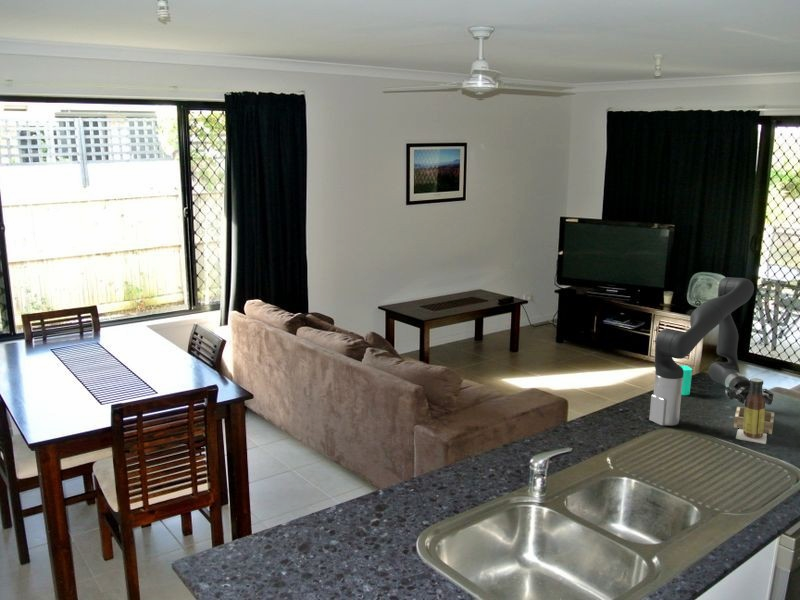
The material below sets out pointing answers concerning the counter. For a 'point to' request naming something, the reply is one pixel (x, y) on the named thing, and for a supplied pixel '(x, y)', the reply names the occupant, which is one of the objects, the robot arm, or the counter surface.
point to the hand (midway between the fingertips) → (756, 401)
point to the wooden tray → (767, 420)
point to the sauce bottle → (754, 410)
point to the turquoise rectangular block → (686, 380)
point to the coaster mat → (743, 437)
